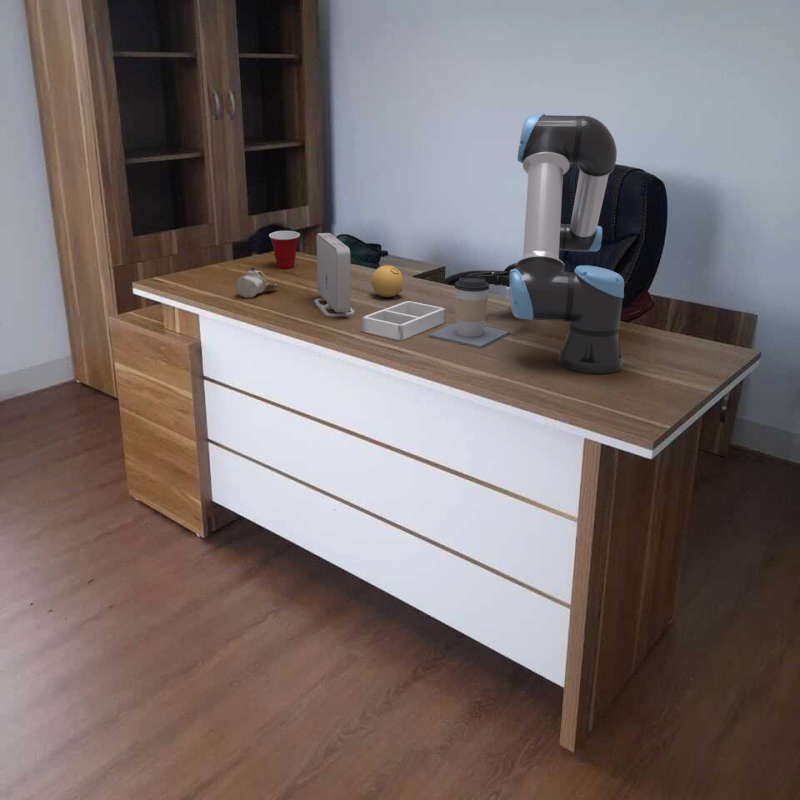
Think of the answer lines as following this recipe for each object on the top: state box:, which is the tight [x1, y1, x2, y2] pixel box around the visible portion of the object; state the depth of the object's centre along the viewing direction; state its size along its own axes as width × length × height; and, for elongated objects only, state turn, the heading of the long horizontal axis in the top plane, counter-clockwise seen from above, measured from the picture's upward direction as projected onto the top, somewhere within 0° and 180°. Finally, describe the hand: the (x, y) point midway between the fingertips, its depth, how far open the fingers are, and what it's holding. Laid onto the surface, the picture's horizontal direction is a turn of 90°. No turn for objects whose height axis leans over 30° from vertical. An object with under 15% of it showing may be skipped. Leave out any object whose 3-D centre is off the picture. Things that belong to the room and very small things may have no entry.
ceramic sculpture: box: [235, 267, 279, 299], centre depth 254 cm, size 11×9×15 cm
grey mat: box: [427, 321, 511, 349], centre depth 220 cm, size 16×16×1 cm
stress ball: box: [371, 264, 404, 298], centre depth 254 cm, size 10×10×10 cm
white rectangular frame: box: [361, 300, 447, 341], centre depth 225 cm, size 13×22×4 cm, turn 145°
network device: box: [314, 232, 355, 318], centre depth 239 cm, size 26×9×20 cm, turn 18°
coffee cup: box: [454, 275, 490, 337], centre depth 217 cm, size 9×9×15 cm
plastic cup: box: [268, 230, 301, 270], centre depth 289 cm, size 11×11×12 cm
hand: (484, 289), depth 222 cm, fingers open, 13 cm apart
